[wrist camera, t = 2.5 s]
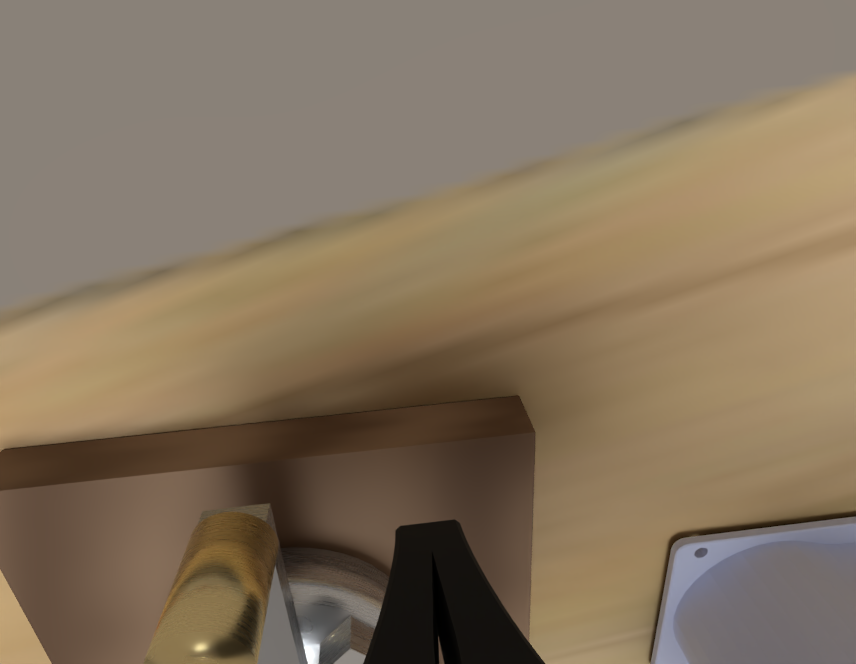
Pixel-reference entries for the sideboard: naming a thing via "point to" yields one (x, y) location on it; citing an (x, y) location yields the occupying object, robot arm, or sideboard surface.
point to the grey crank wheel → (265, 598)
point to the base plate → (252, 485)
